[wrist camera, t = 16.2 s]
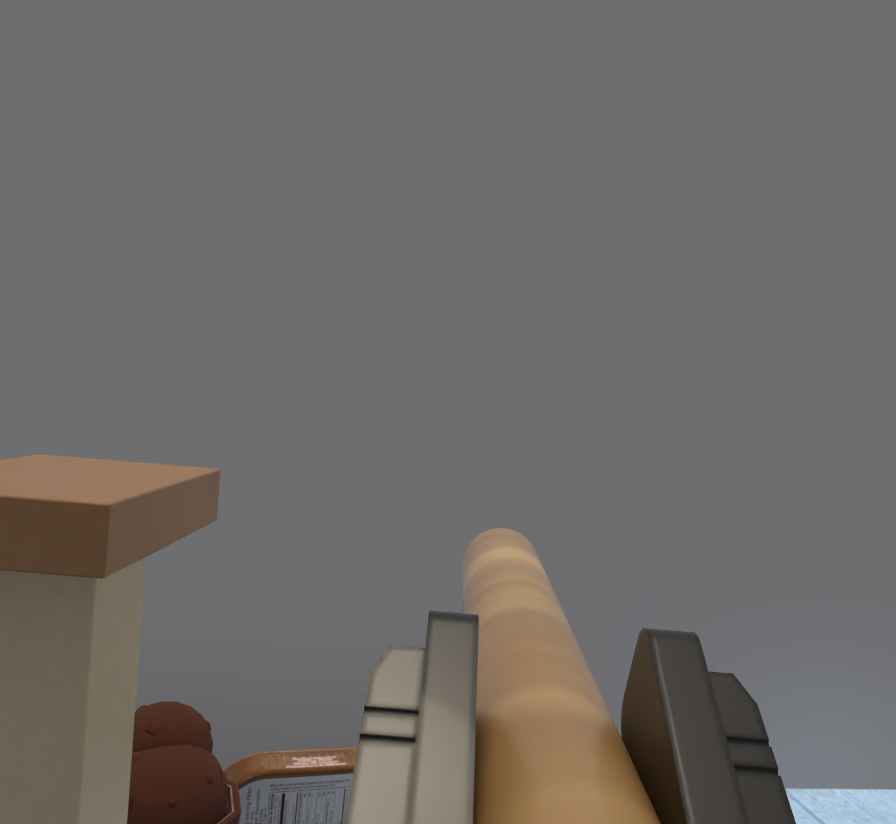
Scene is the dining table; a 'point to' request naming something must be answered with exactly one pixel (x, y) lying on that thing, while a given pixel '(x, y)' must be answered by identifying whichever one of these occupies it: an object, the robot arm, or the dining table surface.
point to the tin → (294, 786)
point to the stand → (79, 623)
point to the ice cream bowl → (177, 770)
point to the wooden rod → (539, 703)
